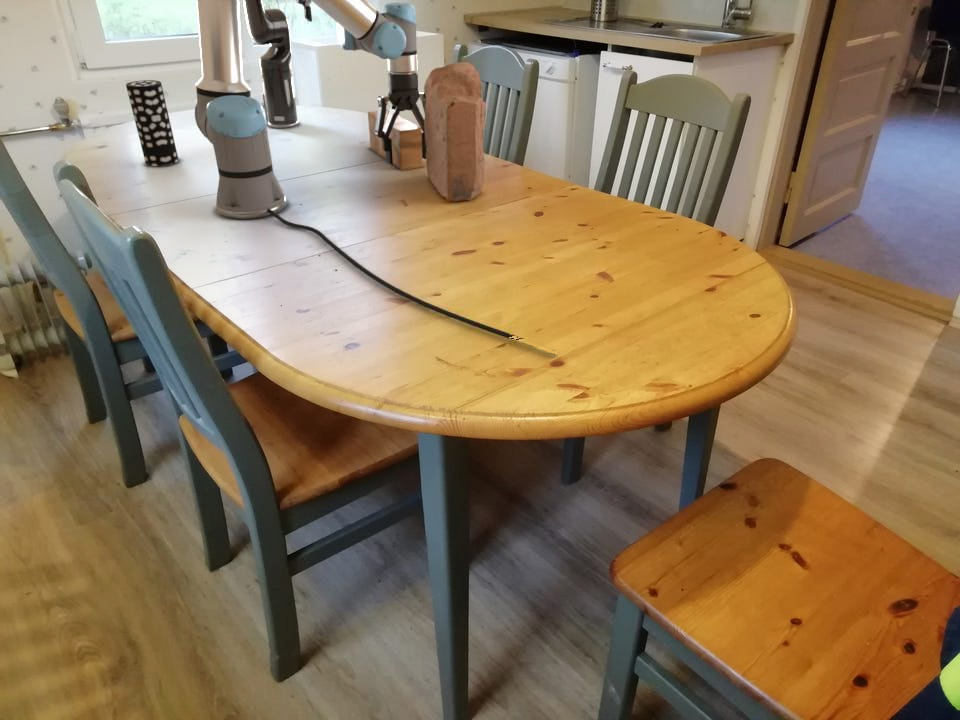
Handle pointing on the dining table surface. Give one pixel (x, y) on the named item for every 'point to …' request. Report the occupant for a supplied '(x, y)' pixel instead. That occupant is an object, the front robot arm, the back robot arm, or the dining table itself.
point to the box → (399, 142)
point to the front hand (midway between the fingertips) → (406, 160)
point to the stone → (455, 131)
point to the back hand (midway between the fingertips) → (324, 20)
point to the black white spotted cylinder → (152, 122)
